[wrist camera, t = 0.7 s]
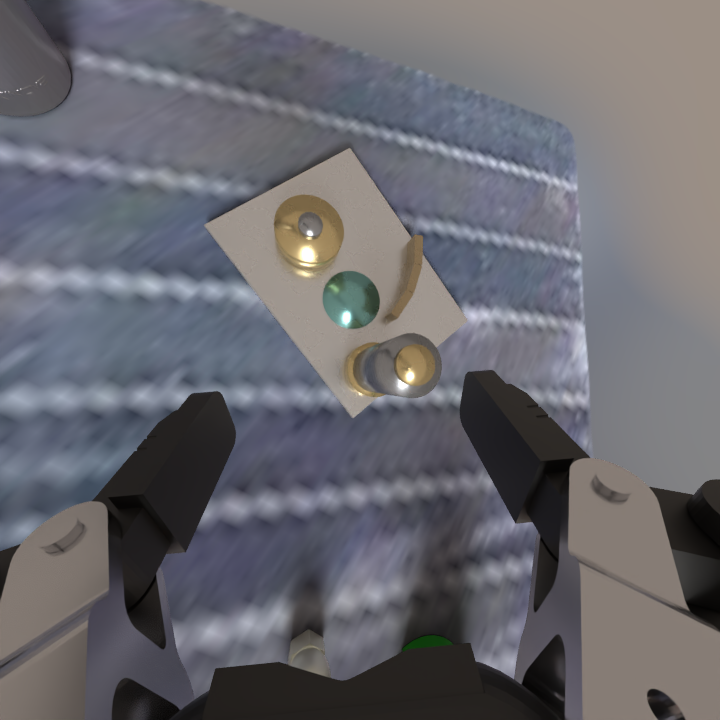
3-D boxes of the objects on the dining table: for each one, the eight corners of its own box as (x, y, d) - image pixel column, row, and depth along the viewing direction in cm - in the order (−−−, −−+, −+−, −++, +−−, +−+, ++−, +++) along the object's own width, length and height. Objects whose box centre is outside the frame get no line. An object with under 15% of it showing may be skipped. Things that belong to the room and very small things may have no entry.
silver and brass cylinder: (333, 365, 30) (361, 356, 18) (373, 334, 31) (421, 309, 20) (365, 406, 30) (410, 422, 19) (402, 374, 32) (465, 372, 20)
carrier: (207, 231, 28) (192, 204, 24) (347, 155, 33) (356, 121, 29) (350, 416, 31) (360, 422, 27) (462, 322, 36) (486, 314, 31)
